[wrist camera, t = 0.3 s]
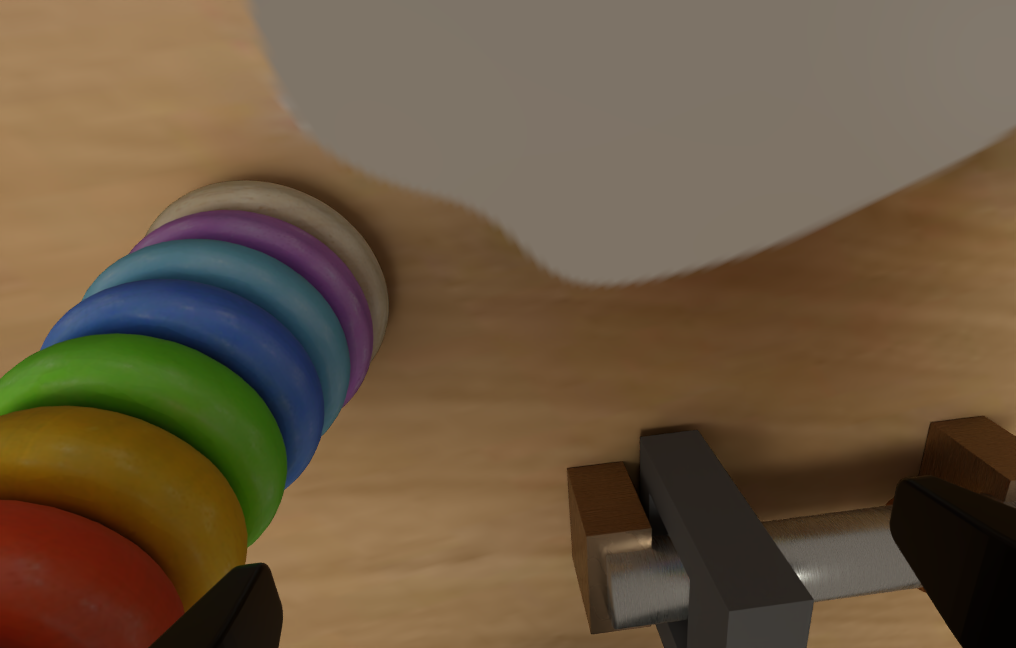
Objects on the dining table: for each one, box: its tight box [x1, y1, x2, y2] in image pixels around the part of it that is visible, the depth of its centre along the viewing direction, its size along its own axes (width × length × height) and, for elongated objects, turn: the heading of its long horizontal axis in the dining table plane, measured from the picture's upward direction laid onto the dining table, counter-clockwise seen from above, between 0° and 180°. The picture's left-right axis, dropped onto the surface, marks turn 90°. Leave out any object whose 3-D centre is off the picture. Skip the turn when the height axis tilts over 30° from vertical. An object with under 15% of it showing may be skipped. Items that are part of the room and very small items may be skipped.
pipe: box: [567, 416, 1016, 634], centre depth 24 cm, size 18×5×6 cm, turn 95°
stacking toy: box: [0, 180, 389, 648], centre depth 12 cm, size 8×8×19 cm
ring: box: [640, 430, 814, 648], centre depth 22 cm, size 2×8×8 cm, turn 5°
